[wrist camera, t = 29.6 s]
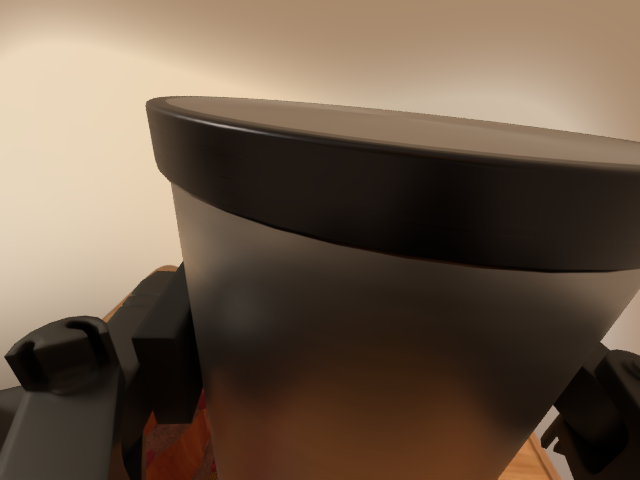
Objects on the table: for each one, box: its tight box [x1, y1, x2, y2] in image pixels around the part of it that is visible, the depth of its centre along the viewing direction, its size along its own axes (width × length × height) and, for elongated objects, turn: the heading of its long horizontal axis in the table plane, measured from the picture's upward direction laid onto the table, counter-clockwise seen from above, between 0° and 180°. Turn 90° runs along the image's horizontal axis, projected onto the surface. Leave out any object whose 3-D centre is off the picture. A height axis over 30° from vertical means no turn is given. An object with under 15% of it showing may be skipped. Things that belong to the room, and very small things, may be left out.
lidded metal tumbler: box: [146, 96, 640, 480], centre depth 8 cm, size 8×8×12 cm
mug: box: [144, 388, 217, 480], centre depth 17 cm, size 15×8×15 cm, turn 151°
